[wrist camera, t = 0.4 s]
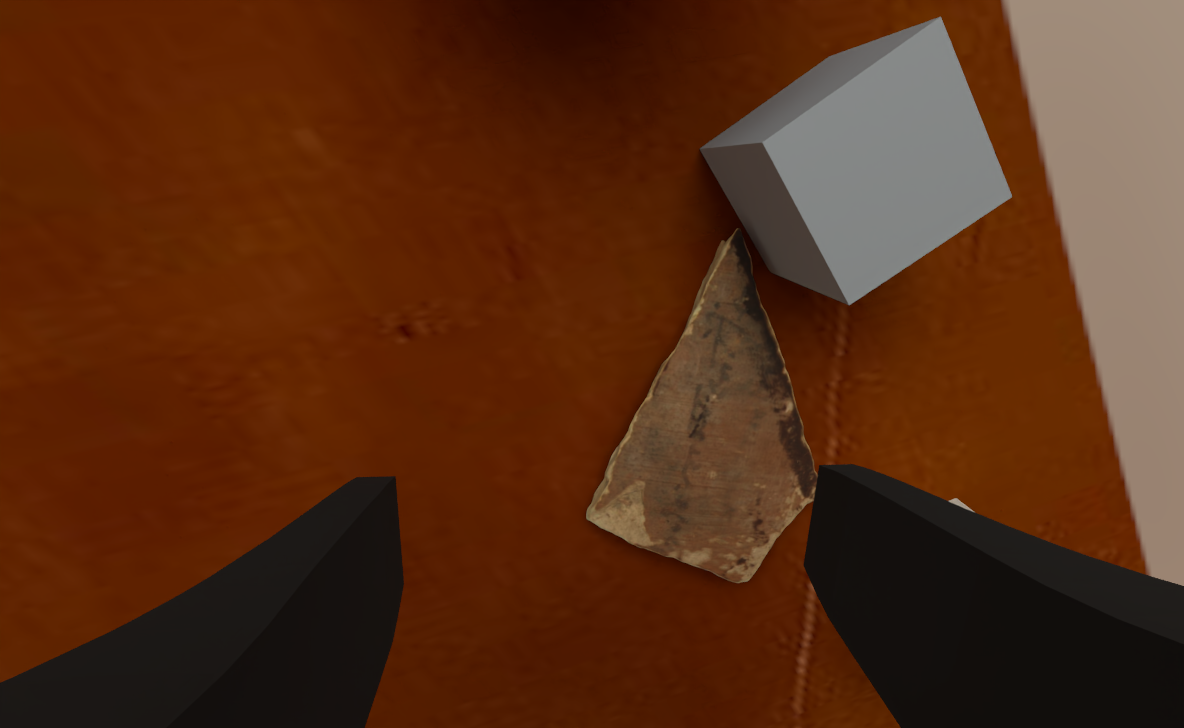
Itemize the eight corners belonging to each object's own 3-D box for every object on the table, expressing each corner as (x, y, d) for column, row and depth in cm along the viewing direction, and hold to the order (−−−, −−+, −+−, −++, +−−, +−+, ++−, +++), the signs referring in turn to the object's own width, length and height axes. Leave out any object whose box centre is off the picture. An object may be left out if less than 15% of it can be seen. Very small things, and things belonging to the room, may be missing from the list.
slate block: (890, 189, 19) (1012, 196, 14) (769, 271, 19) (849, 305, 15) (828, 57, 18) (940, 16, 13) (698, 148, 18) (762, 142, 13)
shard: (722, 222, 19) (742, 227, 17) (906, 320, 21) (940, 333, 19) (573, 501, 22) (578, 529, 20) (749, 566, 23) (768, 597, 22)
